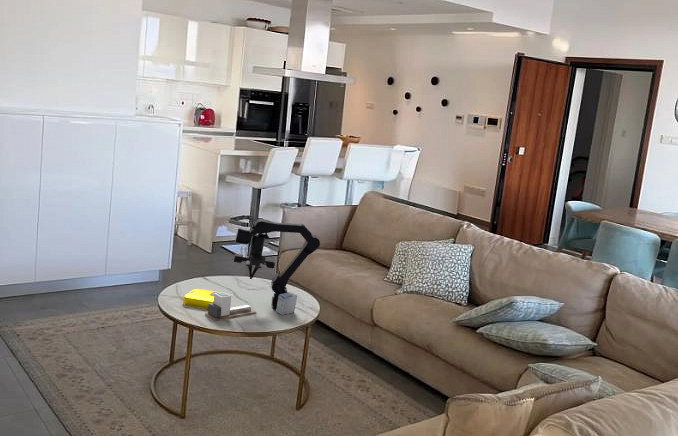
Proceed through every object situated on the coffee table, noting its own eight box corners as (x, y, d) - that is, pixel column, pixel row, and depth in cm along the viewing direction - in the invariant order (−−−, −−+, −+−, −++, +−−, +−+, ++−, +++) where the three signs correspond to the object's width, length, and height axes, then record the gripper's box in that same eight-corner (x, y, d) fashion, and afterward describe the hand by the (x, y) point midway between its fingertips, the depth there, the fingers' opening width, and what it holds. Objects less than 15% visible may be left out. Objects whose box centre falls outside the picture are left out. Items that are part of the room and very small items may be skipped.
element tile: (193, 296, 325) (194, 286, 324) (224, 301, 323) (224, 291, 322) (181, 305, 311) (182, 295, 310) (213, 310, 308) (214, 300, 308)
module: (221, 310, 305) (223, 291, 304) (229, 314, 301) (231, 295, 299) (212, 312, 302) (213, 292, 300) (220, 316, 298) (221, 296, 296)
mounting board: (245, 308, 316) (245, 306, 316) (256, 313, 310) (256, 311, 310) (204, 315, 301) (205, 313, 300) (215, 320, 295) (215, 319, 295)
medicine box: (288, 308, 321) (291, 291, 319) (294, 312, 318) (297, 295, 316) (275, 311, 315) (278, 294, 313) (282, 315, 312) (285, 297, 310)
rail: (244, 307, 315) (245, 297, 314) (253, 311, 310) (254, 302, 309) (207, 313, 301) (208, 303, 300) (216, 318, 296) (217, 308, 295)
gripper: (237, 246, 306) (230, 280, 308) (278, 253, 309) (271, 287, 311) (236, 241, 316) (230, 273, 319) (276, 248, 320) (270, 280, 322)
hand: (250, 278), depth 317 cm, fingers closed
